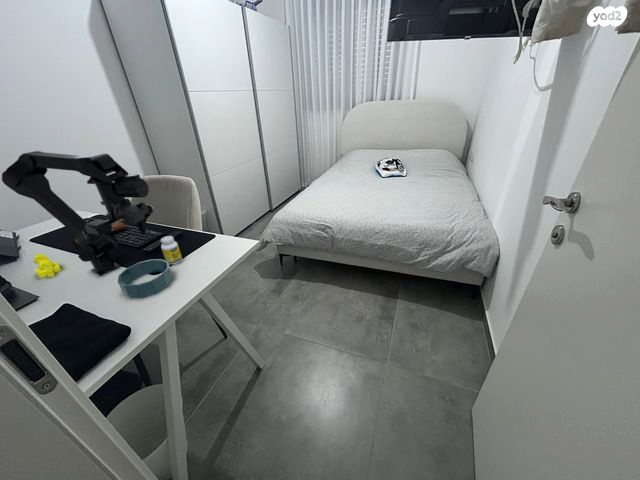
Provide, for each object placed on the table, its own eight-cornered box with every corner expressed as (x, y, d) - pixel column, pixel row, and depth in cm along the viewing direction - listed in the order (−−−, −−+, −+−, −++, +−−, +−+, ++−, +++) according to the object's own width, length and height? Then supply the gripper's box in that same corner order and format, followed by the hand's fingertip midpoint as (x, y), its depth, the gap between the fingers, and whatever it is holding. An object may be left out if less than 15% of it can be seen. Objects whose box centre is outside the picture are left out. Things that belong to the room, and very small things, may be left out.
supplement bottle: (176, 265, 95) (168, 242, 90) (163, 264, 96) (154, 241, 91) (185, 257, 99) (178, 235, 94) (173, 256, 100) (165, 234, 95)
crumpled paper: (40, 280, 88) (27, 261, 85) (36, 272, 93) (24, 254, 89) (63, 272, 92) (51, 254, 89) (58, 264, 97) (46, 246, 93)
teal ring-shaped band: (115, 289, 84) (109, 276, 81) (157, 266, 94) (153, 255, 92) (139, 304, 78) (133, 291, 75) (182, 278, 88) (177, 266, 86)
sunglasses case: (119, 224, 125) (117, 215, 120) (127, 234, 124) (126, 225, 119) (73, 240, 112) (69, 230, 107) (82, 251, 111) (79, 242, 106)
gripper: (100, 211, 70) (122, 259, 77) (158, 190, 85) (172, 232, 93) (72, 206, 73) (96, 253, 81) (133, 186, 88) (148, 227, 96)
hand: (131, 240), depth 87 cm, fingers open, 9 cm apart
